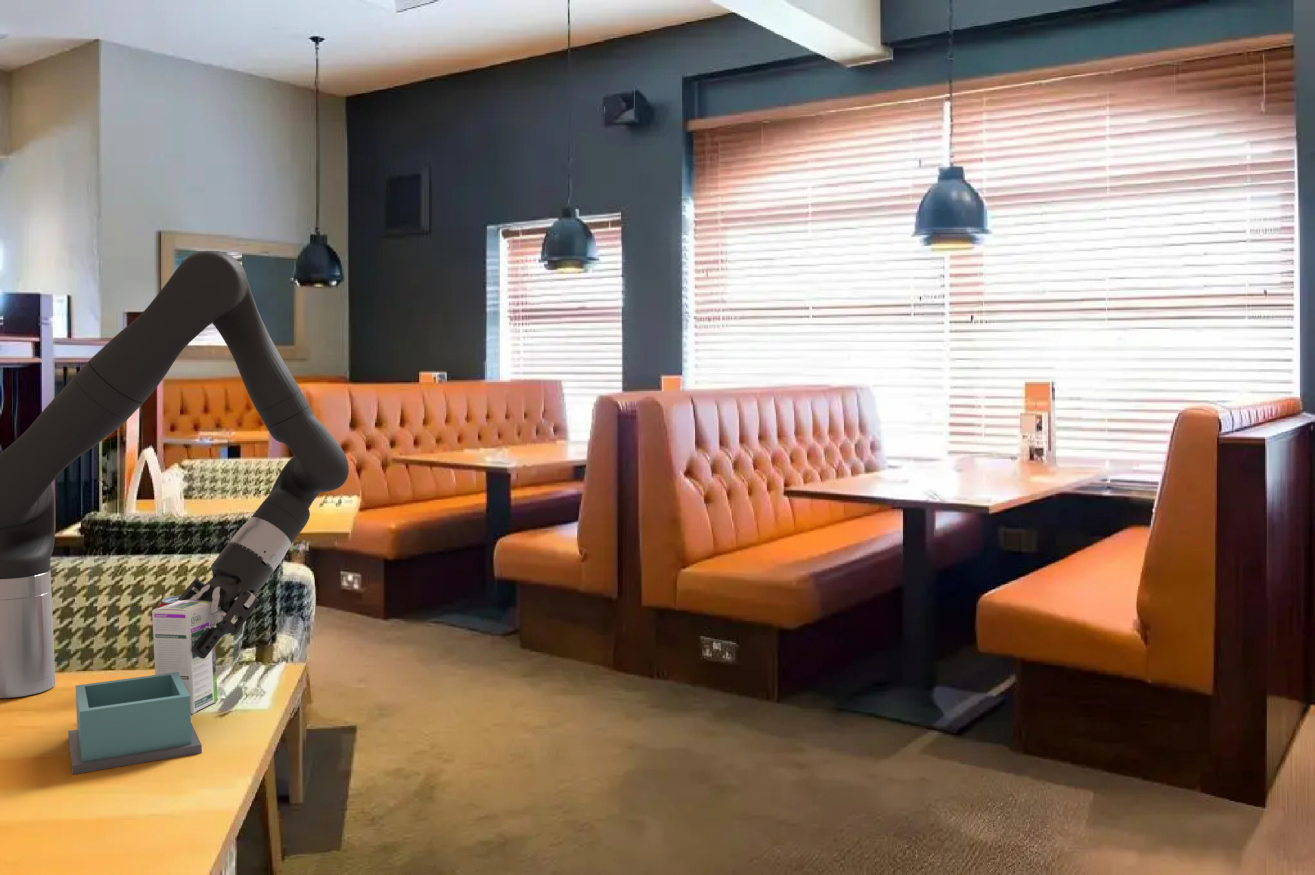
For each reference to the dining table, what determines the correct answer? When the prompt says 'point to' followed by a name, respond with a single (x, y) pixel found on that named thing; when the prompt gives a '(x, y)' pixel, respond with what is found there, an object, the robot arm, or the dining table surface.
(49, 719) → the dining table surface
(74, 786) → the dining table surface
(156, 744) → the teal square open box
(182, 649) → the syrup box
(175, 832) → the dining table surface
